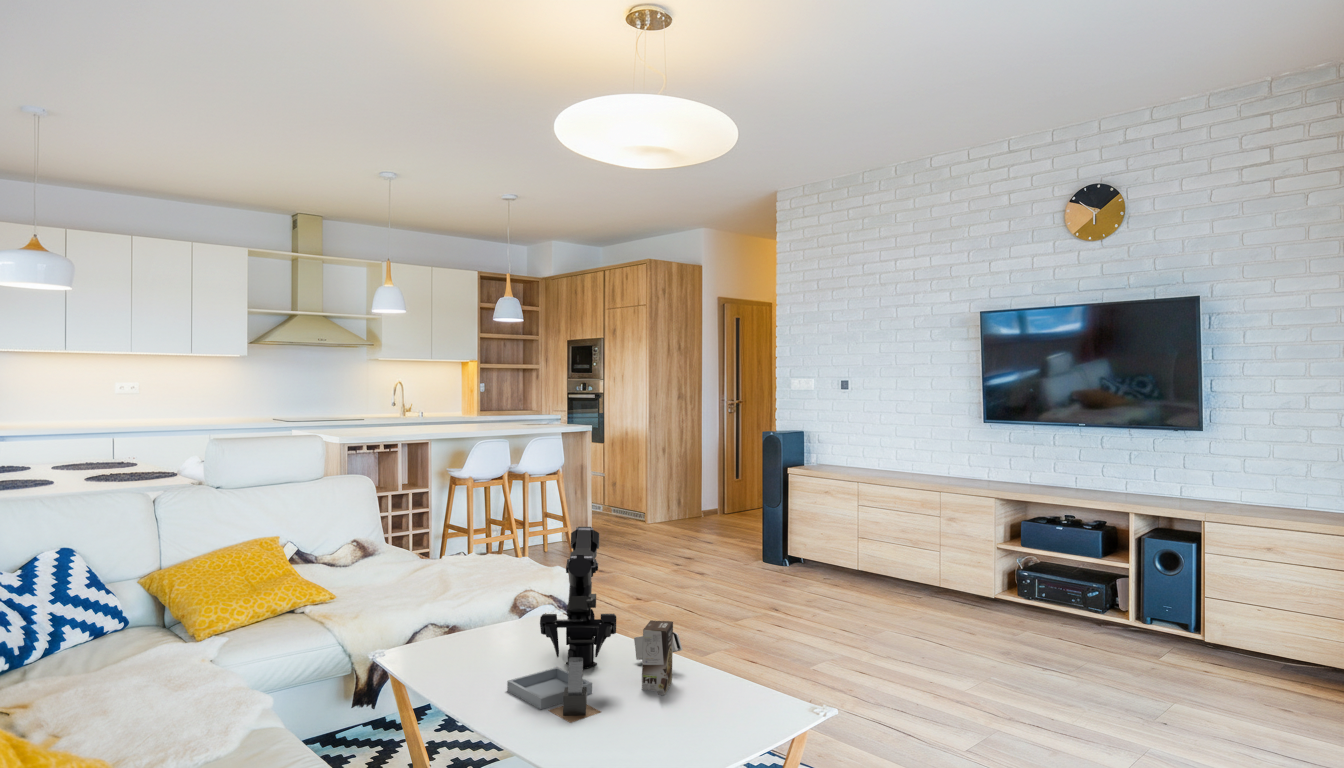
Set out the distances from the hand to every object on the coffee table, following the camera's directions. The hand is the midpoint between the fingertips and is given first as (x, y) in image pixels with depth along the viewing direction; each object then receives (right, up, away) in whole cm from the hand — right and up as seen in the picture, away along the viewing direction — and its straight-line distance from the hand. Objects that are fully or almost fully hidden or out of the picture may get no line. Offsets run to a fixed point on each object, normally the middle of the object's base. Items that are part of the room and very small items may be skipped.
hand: (576, 656), depth 185 cm
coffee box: (+19, -13, +13) cm, 26 cm away
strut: (0, -11, -5) cm, 12 cm away
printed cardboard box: (+14, -11, +31) cm, 35 cm away
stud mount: (0, -12, -5) cm, 13 cm away
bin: (-8, -12, +6) cm, 15 cm away
